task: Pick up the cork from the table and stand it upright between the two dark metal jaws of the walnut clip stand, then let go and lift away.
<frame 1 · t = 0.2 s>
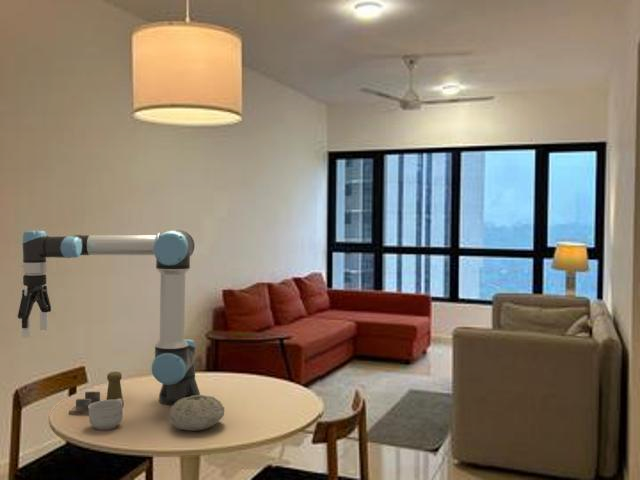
hand: (35, 333, 222), 28 cm above the table, tool pointing down, fingers open, 13 cm apart
cork: (114, 401, 235), on the table
teacup: (109, 426, 208), on the table
clip stand: (88, 410, 224), on the table
grey stone: (197, 427, 208), on the table
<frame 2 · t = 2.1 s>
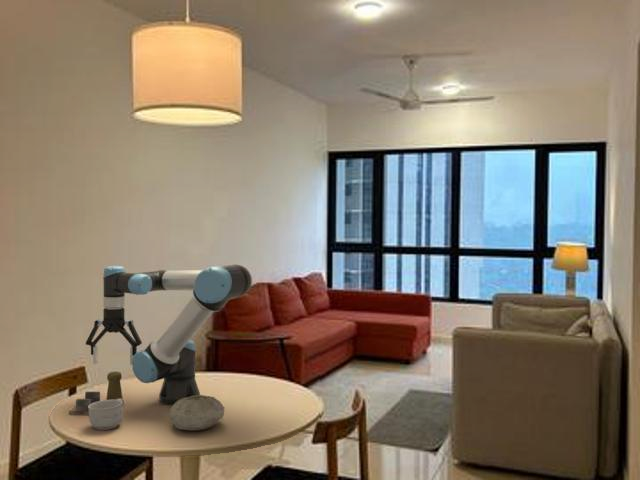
hand: (113, 363, 235), 14 cm above the table, tool pointing down, fingers open, 13 cm apart
nothing on the table moved.
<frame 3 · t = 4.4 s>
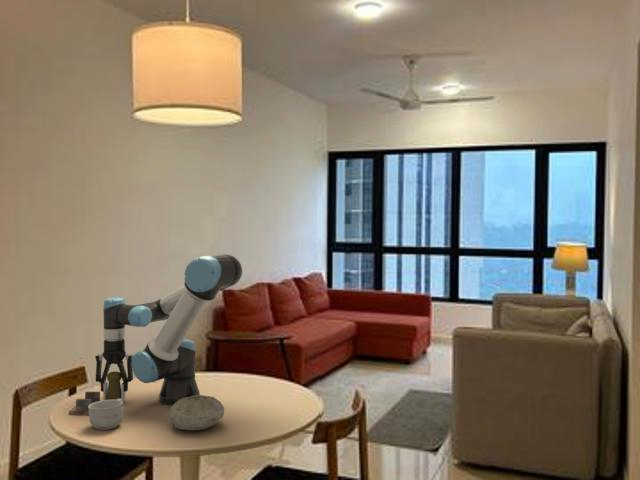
hand: (114, 399, 235), 0 cm above the table, tool pointing down, fingers closed on cork, 6 cm apart
cork: (114, 401, 235), on the table, touching gripper
everything else where it was.
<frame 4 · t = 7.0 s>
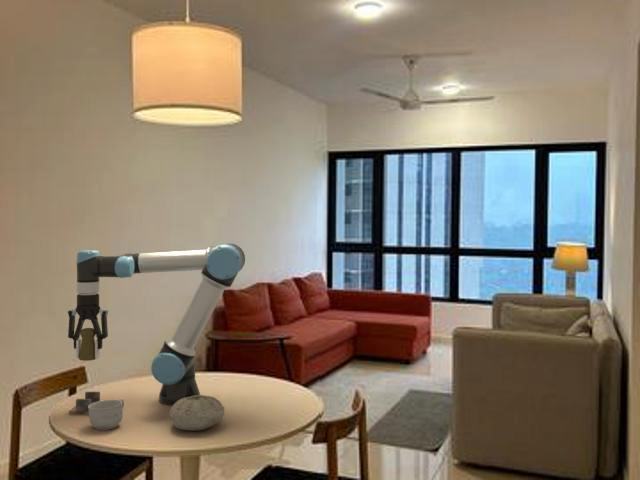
hand: (88, 357, 224), 19 cm above the table, tool pointing down, fingers closed on cork, 6 cm apart
cork: (88, 359, 224), point 18 cm above the table, touching gripper
everything else where it was.
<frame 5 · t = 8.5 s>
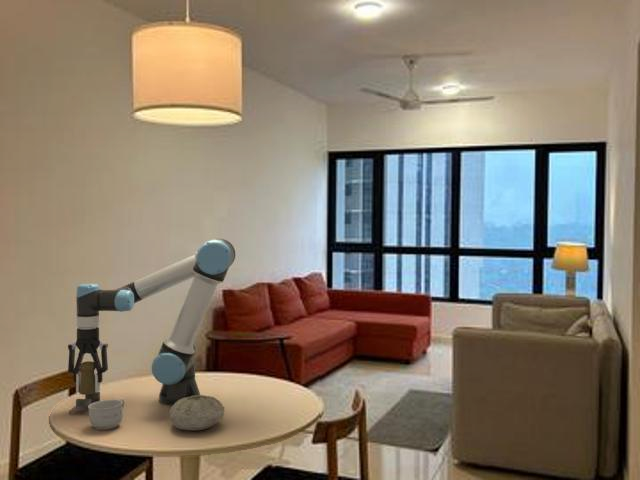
hand: (88, 391, 224), 7 cm above the table, tool pointing down, fingers closed on cork, 6 cm apart
cork: (88, 392, 224), point 6 cm above the table, touching gripper
everything else where it was.
when the fingers open (3 cm above the table, at t = 9.6 s): cork drops 2 cm, resting on clip stand.
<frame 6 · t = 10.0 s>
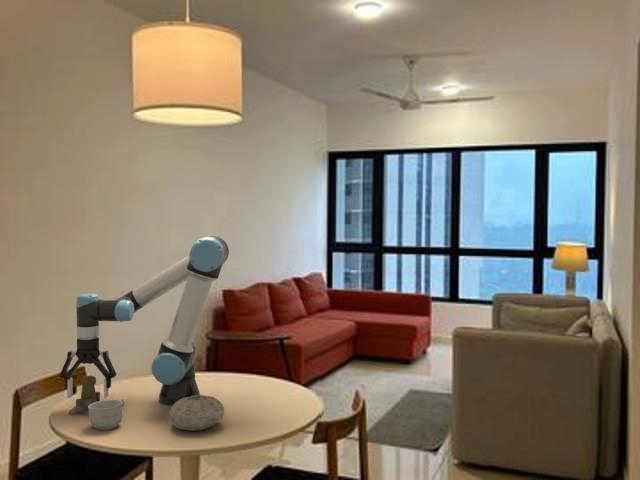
hand: (88, 397, 224), 5 cm above the table, tool pointing down, fingers open, 12 cm apart
cork: (88, 407, 224), point 1 cm above the table, touching clip stand
everything else where it was.
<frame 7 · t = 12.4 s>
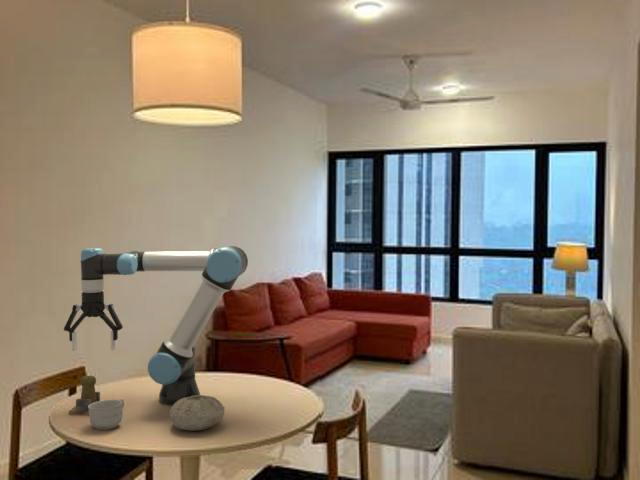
hand: (93, 349, 225), 21 cm above the table, tool pointing down, fingers open, 13 cm apart
nothing on the table moved.
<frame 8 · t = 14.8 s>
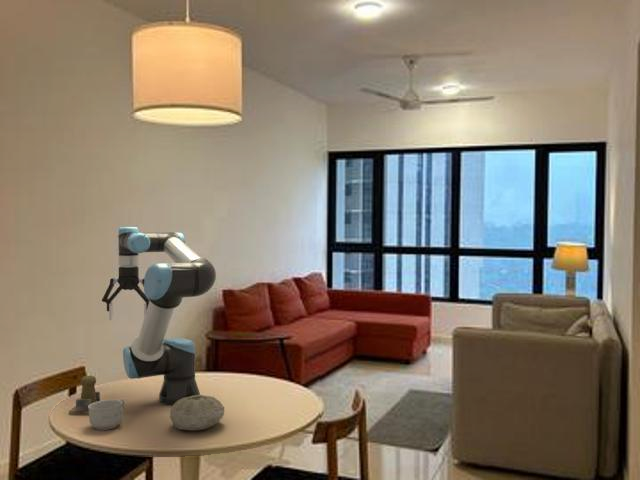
hand: (128, 319, 246), 29 cm above the table, tool pointing down, fingers open, 13 cm apart
nothing on the table moved.
at the end: cork 0.1 cm off-centre on the clip stand, point 1.0 cm above the clip stand's base; cork tilted 0°; the gripper is holding nothing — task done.
